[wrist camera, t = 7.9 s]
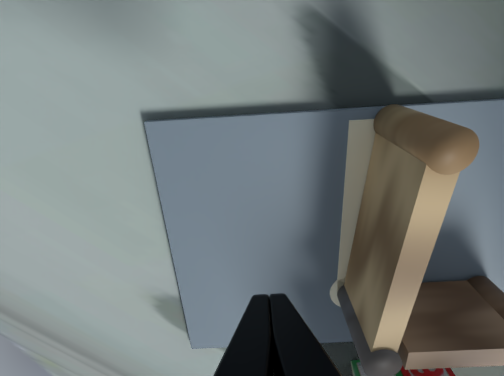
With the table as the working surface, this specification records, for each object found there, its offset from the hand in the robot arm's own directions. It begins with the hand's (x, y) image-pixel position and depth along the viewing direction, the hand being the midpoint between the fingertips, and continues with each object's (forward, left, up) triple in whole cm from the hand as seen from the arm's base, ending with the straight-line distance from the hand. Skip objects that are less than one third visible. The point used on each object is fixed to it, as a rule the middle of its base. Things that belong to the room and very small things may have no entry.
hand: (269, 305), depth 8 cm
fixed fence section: (-9, +8, -9) cm, 15 cm away
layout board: (-5, +4, -9) cm, 11 cm away
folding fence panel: (-6, +2, -8) cm, 10 cm away
